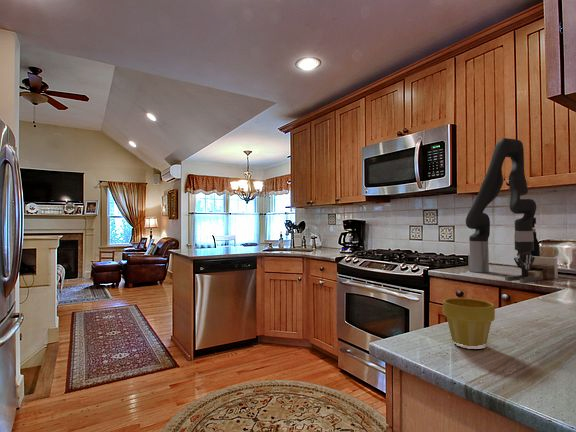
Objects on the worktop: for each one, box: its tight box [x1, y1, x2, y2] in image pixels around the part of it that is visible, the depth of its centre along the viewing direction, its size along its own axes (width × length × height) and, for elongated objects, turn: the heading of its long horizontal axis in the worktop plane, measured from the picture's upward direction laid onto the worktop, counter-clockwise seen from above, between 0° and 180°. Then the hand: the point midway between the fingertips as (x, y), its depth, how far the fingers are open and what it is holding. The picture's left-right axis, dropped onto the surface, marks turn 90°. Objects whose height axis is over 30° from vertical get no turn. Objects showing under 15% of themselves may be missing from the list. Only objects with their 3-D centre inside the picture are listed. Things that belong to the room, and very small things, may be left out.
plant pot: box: [442, 297, 496, 346], centre depth 77 cm, size 10×10×10 cm
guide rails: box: [504, 274, 541, 284], centre depth 160 cm, size 8×14×2 cm, turn 114°
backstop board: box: [532, 256, 559, 280], centre depth 170 cm, size 14×2×10 cm, turn 24°
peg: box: [525, 270, 544, 281], centre depth 164 cm, size 12×4×4 cm, turn 114°
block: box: [528, 264, 554, 280], centre depth 166 cm, size 9×6×6 cm, turn 24°
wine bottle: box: [531, 217, 541, 257], centre depth 179 cm, size 6×6×30 cm
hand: (525, 276), depth 161 cm, fingers closed
